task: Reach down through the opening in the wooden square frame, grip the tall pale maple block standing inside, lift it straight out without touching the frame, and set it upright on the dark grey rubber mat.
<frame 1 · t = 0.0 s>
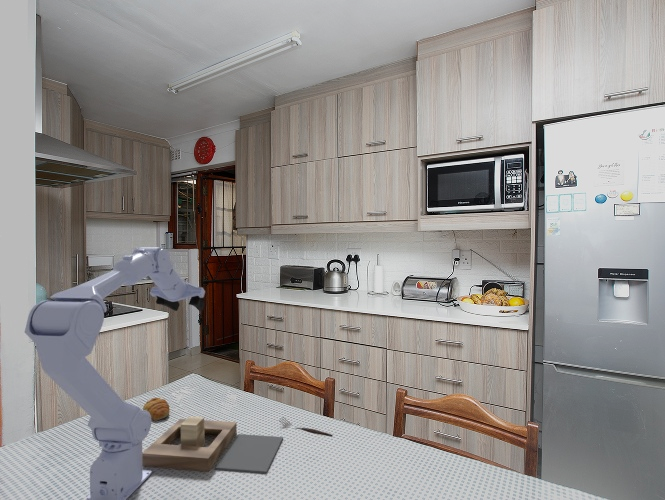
hand: (189, 308, 102), 32 cm above the table, tool tilted 50°, fingers open, 7 cm apart
mat: (251, 452, 86), on the table
wooden square frame: (193, 448, 88), on the table
block: (192, 434, 88), in the wooden square frame
pastry: (157, 414, 107), on the table
fork: (305, 431, 97), on the table
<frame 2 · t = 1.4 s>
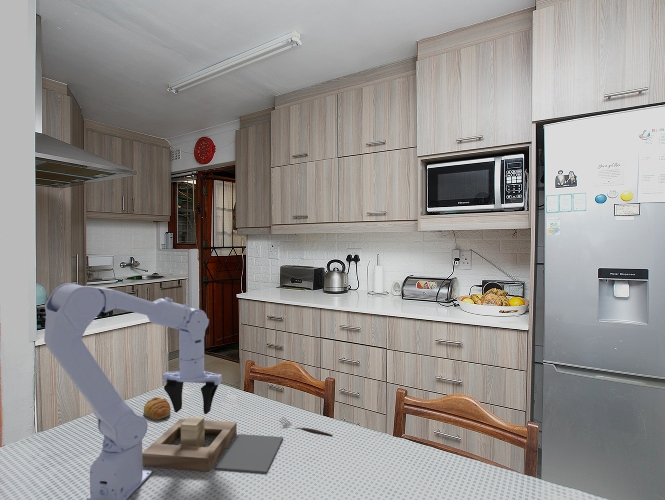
hand: (192, 411, 88), 9 cm above the table, tool pointing down, fingers open, 7 cm apart
nothing on the table moved.
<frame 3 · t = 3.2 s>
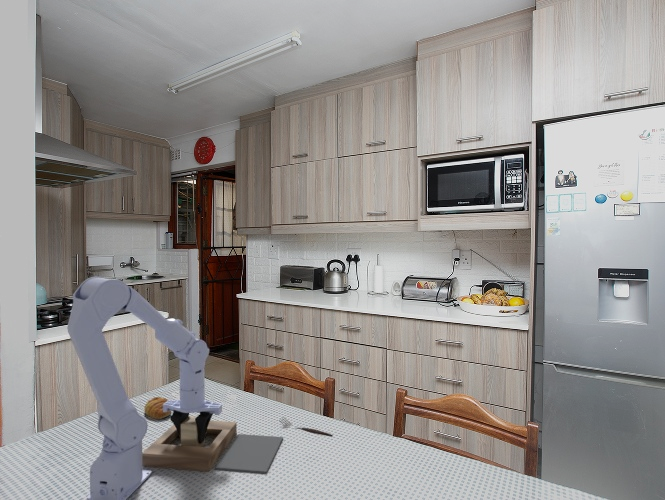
hand: (193, 440, 88), 2 cm above the table, tool pointing down, fingers closed on block, 4 cm apart
block: (192, 434, 88), in the wooden square frame, touching gripper
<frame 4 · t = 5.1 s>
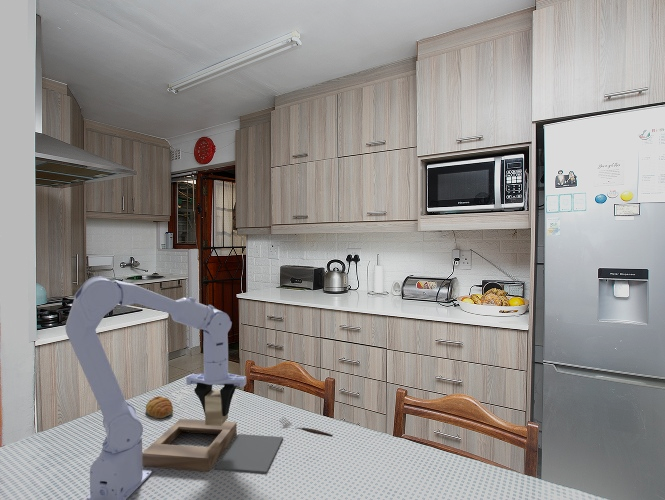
hand: (216, 413, 87), 9 cm above the table, tool pointing down, fingers closed on block, 4 cm apart
block: (216, 407, 87), point 11 cm above the table, touching gripper
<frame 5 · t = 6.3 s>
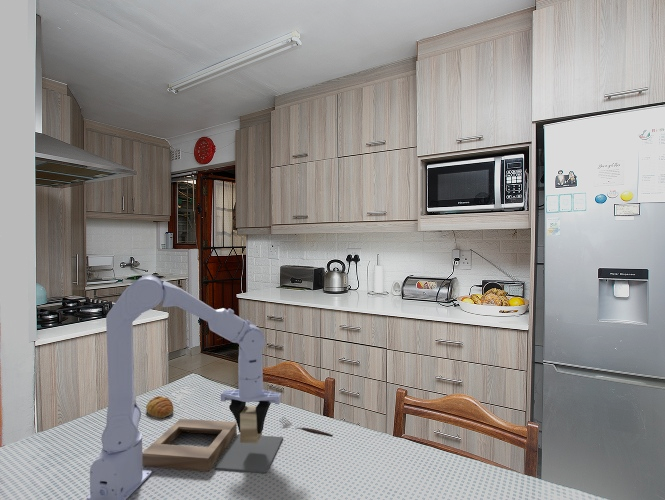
hand: (251, 430, 86), 5 cm above the table, tool pointing down, fingers closed on block, 4 cm apart
block: (251, 424, 86), point 7 cm above the table, touching gripper
when the fingers open (4 cm above the table, at t = 7.4 s): block drops 1 cm, resting on mat.
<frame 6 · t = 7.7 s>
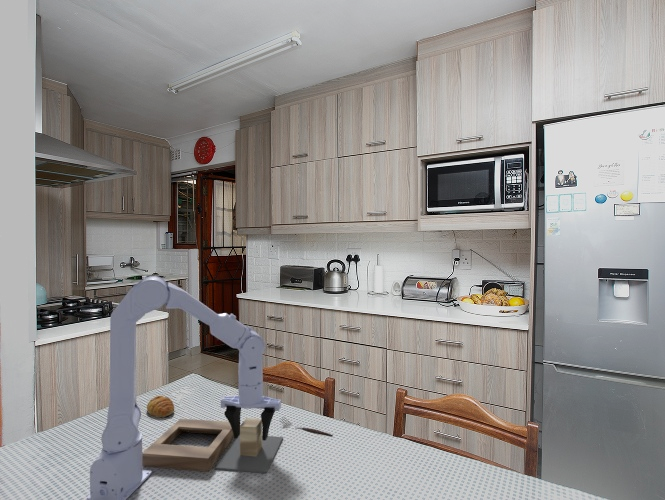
hand: (251, 437, 86), 4 cm above the table, tool pointing down, fingers open, 6 cm apart
block: (251, 436, 86), on the mat
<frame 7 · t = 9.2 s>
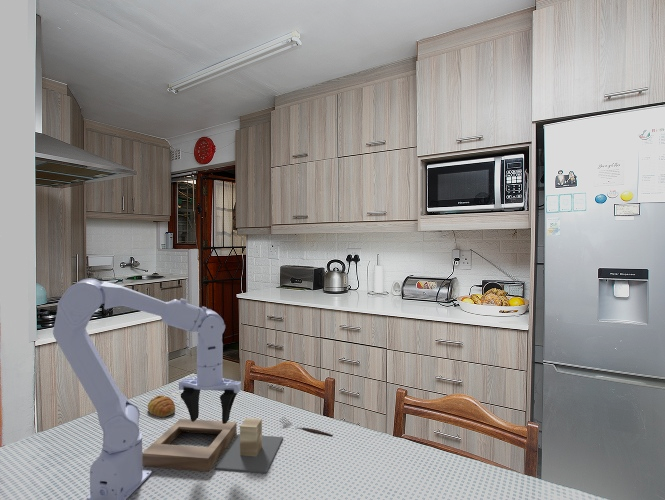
hand: (210, 420, 84), 9 cm above the table, tool pointing down, fingers open, 7 cm apart
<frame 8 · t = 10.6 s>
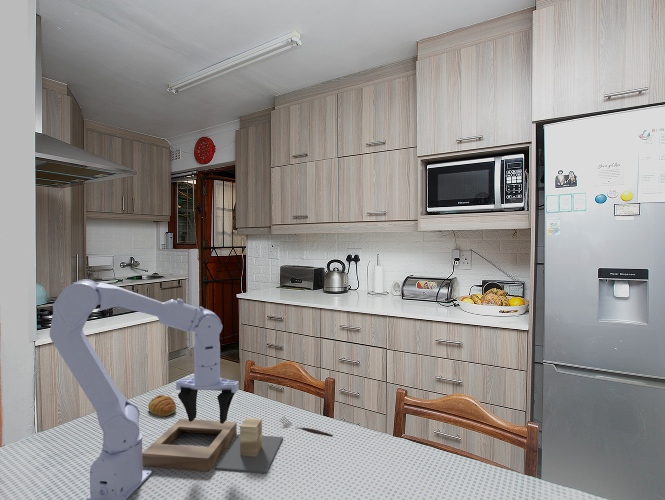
hand: (207, 420, 83), 9 cm above the table, tool pointing down, fingers open, 7 cm apart
at the end: block inside the target area on the mat (0.1 cm from its centre), point 3.9 cm above the mat's base; block tilted 0°; block touching mat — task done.
